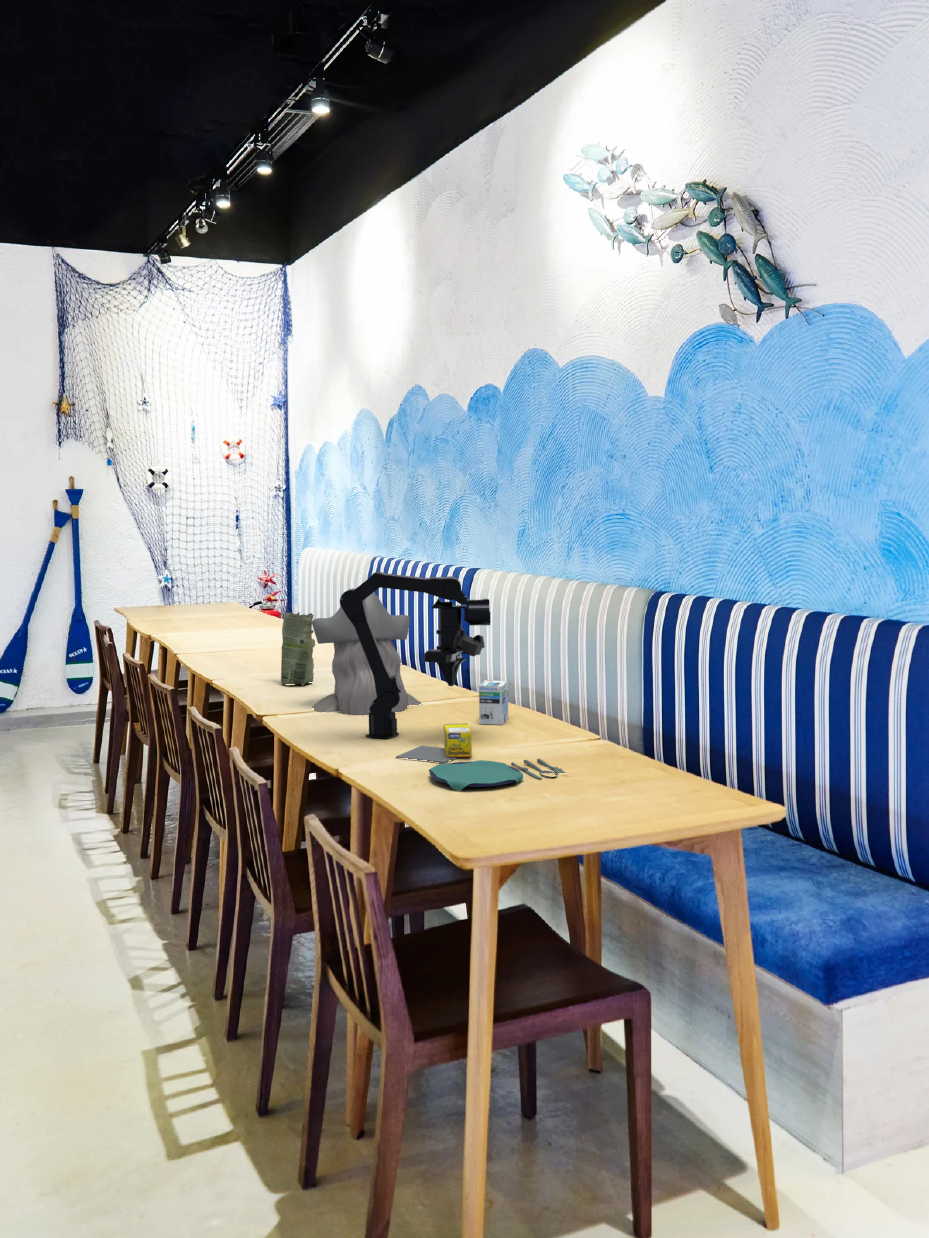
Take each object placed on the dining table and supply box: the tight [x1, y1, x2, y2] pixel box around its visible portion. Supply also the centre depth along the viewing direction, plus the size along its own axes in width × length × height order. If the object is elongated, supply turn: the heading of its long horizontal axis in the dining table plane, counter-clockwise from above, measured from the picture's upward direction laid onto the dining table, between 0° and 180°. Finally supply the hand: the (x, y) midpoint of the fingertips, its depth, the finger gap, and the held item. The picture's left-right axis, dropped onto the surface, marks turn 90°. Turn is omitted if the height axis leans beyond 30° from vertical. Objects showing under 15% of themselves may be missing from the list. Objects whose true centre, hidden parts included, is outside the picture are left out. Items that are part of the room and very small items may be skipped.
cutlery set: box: [428, 758, 566, 791], centre depth 224 cm, size 20×30×2 cm, turn 112°
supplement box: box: [443, 722, 473, 758], centre depth 245 cm, size 6×6×11 cm
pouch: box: [280, 611, 316, 685], centre depth 349 cm, size 11×12×25 cm
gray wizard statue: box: [311, 592, 422, 716], centre depth 308 cm, size 34×34×35 cm
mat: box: [395, 745, 457, 764], centre depth 244 cm, size 13×13×1 cm
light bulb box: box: [478, 679, 509, 726], centre depth 284 cm, size 11×7×11 cm, turn 168°
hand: (451, 685), depth 265 cm, fingers closed
